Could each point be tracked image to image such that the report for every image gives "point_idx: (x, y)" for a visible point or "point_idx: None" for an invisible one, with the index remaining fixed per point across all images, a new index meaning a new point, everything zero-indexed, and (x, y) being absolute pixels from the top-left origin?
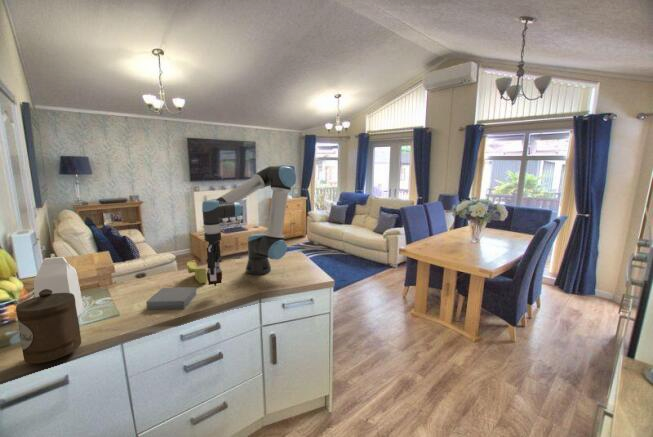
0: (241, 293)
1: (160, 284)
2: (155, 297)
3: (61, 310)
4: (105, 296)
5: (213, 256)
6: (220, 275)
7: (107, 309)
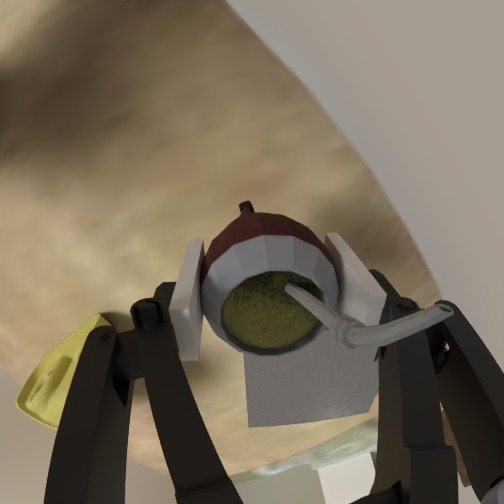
0: (226, 73)
1: (154, 430)
2: (341, 409)
3: None
4: (250, 474)
5: (434, 417)
6: (292, 220)
7: (329, 447)
